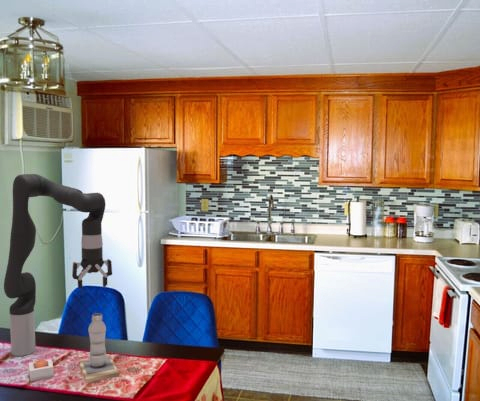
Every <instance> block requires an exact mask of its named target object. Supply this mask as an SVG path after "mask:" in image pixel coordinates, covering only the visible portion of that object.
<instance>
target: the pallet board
mask: <svg viewBox="0 0 480 401" xmlns="http://www.w3.org/2000/svg"><path fill="white" fill-rule="evenodd" d="M78 365H79V368H80V371H81V374H82V376H83V378H84V381H85V383H86V384H87V383H89V384H90V383H92V382H93V383H94V382H97V381H102V380H106V379H107V380H108V379H112V377H113V378H117V376H118V377H120V371H119V369H118V368H117V366H116V364H115V362H114V360H113V358H112V357H111V354H107V362H106V364H105V365H103V366H101V367H93V366H91V364H90V362H89V357H86V358H82V359H78Z"/></svg>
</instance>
